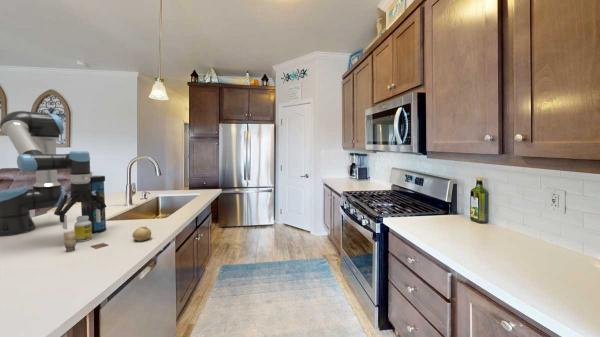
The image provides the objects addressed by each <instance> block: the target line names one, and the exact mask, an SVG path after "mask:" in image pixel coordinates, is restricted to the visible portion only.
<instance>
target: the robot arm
mask: <svg viewBox="0 0 600 337" xmlns="http://www.w3.org/2000/svg"><path fill="white" fill-rule="evenodd" d="M0 129H1V132H2V133H3V134H4V135H5V136H8V138H9V139H10V142H11V143H12V145H13V147H14V148H15V150H16V151H17V153H18V156H17V157H16V164H17V169H19V171H22V172H35V175H36V176H35V178H36V180H35V181H36V182H35V183H34V184H32V188H28V187H27V186H21V187H19V186H18V187H13V188H7V189H3V190H0V237H5V236H13V235H19V234H20V235H21V234H25V233H28V232H29V233H30V232H32V231H35V229H36V224H35V222H34V220H33V219H32V217H31V212H30V211H34V210H41V209H47V208H50V209H51V208H54V207H56V209H55V211H54V213H53V215H55V216H59V222H60V223H61V224H62V229H63V230H68V220H67V218H68V217H67V215H66V214H67V213H68V212H69V210H70V209H72V207H73V206H74V205H76V203H81V202H82V201H87V200H88V201H89V202H90V203H92V204H93V205H94V206H95V207H97V208H98V209H96V222H101V219H100V215H102V210H103V208H105V209H106V208H107V205H106V202H105V203H104V202H103V200H102V199H101V197H100V196H99V192H98V191H93V192H91V183H89V182H90V176H91V157H90V152H89V151H86V150H85V151H84V150H71V151H69V153H64V154H63V153H62V154H61V153H58V154H57V140H58V139H60V136H61V135H63V134H64V129H65V128H64V122H63V121H62V119H61V117H60V116H59V115H57V114H55V113H54V114H53V113H50V112H36V111H35V112H34V111H25V110H17V111H12V112H9V113H7V114H6V115H4V116H3V117H2V118H1V120H0ZM59 170H60V171H61V170H69V176H70V177H69V178H70V179H69V180H70V194H69V193H68V194H66V193H67V192H66V188H65V186H62V185H61V183H60V182H59V181H58V171H59ZM92 194H93V195H94V196H95V197H96V199H97V200H98V202H99V203H100V205H101V206H100V205H99V204H97V203H96V202H95V201H94V200H93V199H92V198H90V196H91V195H92ZM69 198H71V199H70V200H69ZM68 200H69V202H68V203H67V201H68ZM66 203H67V204H66Z"/></svg>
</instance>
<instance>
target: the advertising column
mask: <svg viewBox="0 0 600 337" xmlns="http://www.w3.org/2000/svg"><path fill="white" fill-rule="evenodd" d="M105 182H106V176H105V175H90V182H89V183H91V192H93V191H98V192H99V196H100V197H101V199H102V200H103V202H104V203H105V204H106V202H105V200H106V199H105V198H106V197H105ZM90 198H92V199H93V200H94V201H95V202H96V203H97V204H99V205H100V203H99V202H98V200H97V199H96V197H95V196H94V195H93V194H92V195H91V196H90ZM80 206H81V208H80V209H81V216H89V219H88V221H91V228H92V235H94V234H101V233H103V232H106V230H107V224H106V223H107V221H106V219H107V218H106V207H105V208H103V210H102V215H100V219H101V222H96V209H98V208H97V207H95V206H94V205H93V204H92V203H90V202H89V201H88V200H87V201H82V202H80ZM100 206H101V205H100Z"/></svg>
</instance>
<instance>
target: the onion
mask: <svg viewBox="0 0 600 337" xmlns="http://www.w3.org/2000/svg"><path fill="white" fill-rule="evenodd" d="M151 237H152V230H151V229H150V228H149V227H147V226H140V227H138V228H136V229H135V230H134V231H133V233H132V239H133V240H135V241H139V242H143V241H148V239H150V238H151Z"/></svg>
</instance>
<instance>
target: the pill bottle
mask: <svg viewBox="0 0 600 337" xmlns="http://www.w3.org/2000/svg"><path fill="white" fill-rule="evenodd" d="M75 219H76V222H74V225H73V226H74V228H73V231H74V232H75V241H76V242H79V243H80V242H81V243H82V242H86V241H91V240H92V237H93V236H92V235H93V234H92V228H91V221H88V219H89V216H82V215H80V216H76V218H75Z"/></svg>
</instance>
